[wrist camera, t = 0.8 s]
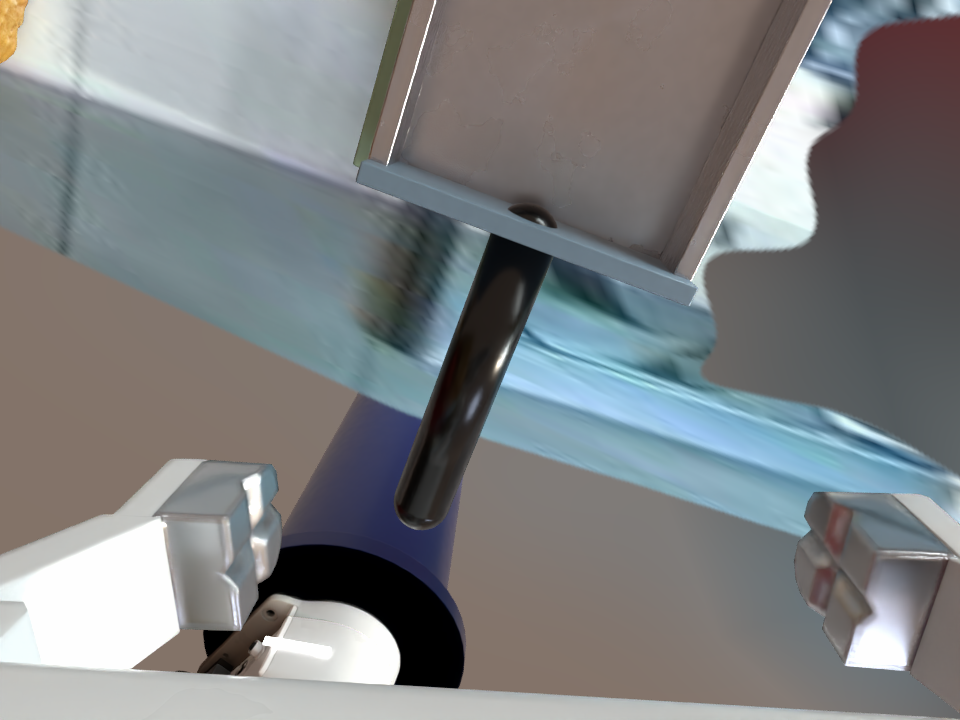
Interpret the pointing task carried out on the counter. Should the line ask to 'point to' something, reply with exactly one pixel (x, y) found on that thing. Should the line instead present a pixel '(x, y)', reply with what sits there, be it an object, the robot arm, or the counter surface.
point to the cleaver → (569, 163)
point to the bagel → (10, 25)
